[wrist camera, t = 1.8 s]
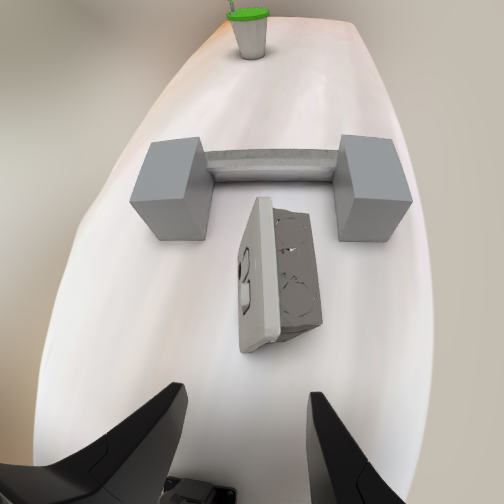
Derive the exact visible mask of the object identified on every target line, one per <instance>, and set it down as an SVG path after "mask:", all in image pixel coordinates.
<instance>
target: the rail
mask: <svg viewBox="0 0 504 504" xmlns="http://www.w3.org/2000/svg"><path fill="white" fill-rule="evenodd" d="M338 151H339V150H317V149H249V150H227V151H211V152H204V153H205V156H206V159H207V165H206V170H207V172H211V175H212V178H213V181H214V182H232V181H327V182H332V181H333V176H334V172H335V171H337V169H338V165H337V156H338Z"/></svg>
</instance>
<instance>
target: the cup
mask: <svg viewBox="0 0 504 504" xmlns="http://www.w3.org/2000/svg"><path fill="white" fill-rule="evenodd" d="M229 2H230V6H231V12H229V13H228V14H227V19H228V20H229V21H230V22H231V25H232V28H233V31H234V34H235V37H236V40H237V43H238V46H239V49H240V52H241V56H242V58H243V59H246V60H256V59H260V58H263V57H264V56H265V44H266V29H267V17H268V16H269V15H270V14H269V11H268V10H267V9H262V8H247V9H239V10H235V11H234V6H233V1H232V0H229Z"/></svg>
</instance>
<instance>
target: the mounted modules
mask: <svg viewBox="0 0 504 504" xmlns="http://www.w3.org/2000/svg"><path fill="white" fill-rule="evenodd" d="M206 165H207V159H206V156H205V153H204V150H203V147H202V144H201V141H200V138H199V137H192V138H183V139H175V140H167V141H160V142H153V143H151V145H150V147H149V150H148V152H147V155H146V157H145V160H144V162H143V165H142V167H141V170H140V173H139V175H138V178H137V181H136V184H135V187H134V189H133V192H132V195H131V198H130V201H129V202H130V204H131V205H132V206H133V208H134V209H135V210H136V211H137V213H138V214H139V215H140V217H141V218H142V219H143V220H144V222H145V223H146V224H147V225H148V227H149V228H150V229H151V231H152V232H153V233H154V234H155V236H156V237H157V238H158V239H159V240H205V236H206V230H207V223H208V217H209V211H210V205H211V198H212V193H213V187H214V181H213V178H212V175H211V172H207V170H206ZM337 165H338V169H337V171H335V172H334V176H333V181H332V184H333V191H334V199H335V207H336V215H337V224H338V234H339V241H362V242H387V241H388V239H389V238H390V236H391V235H392V233H393V232H394V230H395V229H396V227H397V226H398V224H399V223H400V221H401V220H402V218H403V217H404V215H405V213H406V212H407V210H408V209H409V207H410V205H411V204H412V202H413V200H412V197H411V193H410V190H409V187H408V184H407V180H406V177H405V174H404V171H403V168H402V166H401V163H400V160H399V157H398V155H397V152H396V149H395V147H394V144H393V141H392V139H384V138H375V137H365V136H354V135H341V140H340V146H339V151H338V156H337Z"/></svg>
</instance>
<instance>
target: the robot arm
mask: <svg viewBox="0 0 504 504" xmlns="http://www.w3.org/2000/svg"><path fill="white" fill-rule="evenodd" d="M187 405H188V396H187V392H186V389H185V386H184V384H183V383H177V382H172V383H171V384H169V385H168V386H167V387H166V388H164V389H163V390H162V391H161V392H159V393H158V394H157V395H156V396H154V397H153V398H152V399H151V400H149V401H148V402H147V403H146V404H144V405H143V406H142V407H140V408H139V409H138V410H136V411H135V412H134V413H133V414H131V415H130V416H129V417H127V418H126V419H125V420H123V421H122V422H121V423H119V424H118V425H117V426H115V427H114V428H113V429H111V430H110V431H109V432H107V434H104V435H103V436H102V437H100V438H99V439H97V440H96V441H94V442H93V443H91V444H90V445H88V446H87V447H85V448H83V449H81V450H80V451H78V452H76V453H74V454H72V455H70V456H68V457H66V458H64V459H63V460H61V461H59V462H56V463H54V464H51V465H48V466H22V465H11V464H2V463H0V504H236V502H237V491H236V489H234V488H230V487H222V486H215V485H213V484H212V483H207V482H201V481H196V480H191V479H186V478H185V479H179V478H174V477H170V476H168V477H167V475H168V472H169V469H170V466H171V463H172V460H173V458H174V455H175V452H176V449H177V446H178V443H179V441H180V437H181V433H182V429H183V424H184V419H185V415H186V410H187ZM306 452H307V461H308V471H309V481H310V491H311V502H312V504H406V503H405V502H404V501H403V500H402V499H401V498H400V497H399V496H398V495H397V494H396V493H395V492H394V491H393V490H392V489H391V488H390V487H389V486H388V485H387V484H386V483H385V481H384V480H383V479H382V478H381V477H380V475H379V474H378V473H377V471H376V470H375V469H374V467H373V466H372V464H371V463H370V462H369V461H368V459H367V457H366V456H365V455H364V453H363V452H362V450H361V449H360V447H359V446H358V444H357V443H356V442H355V440H354V439H353V437H352V436H351V434H350V433H349V431H348V430H347V428H346V427H345V425H344V424H343V422H342V421H341V419H340V418H339V417H338V415H337V414H336V412H335V411H334V409H333V408H332V406H331V405H330V403H329V402H328V400H327V399H326V397H325V396H324V394H323V393H322V392H310V394H309V399H308V405H307V428H306ZM168 480H170V481H171V483H169V482H168ZM163 486H164V494H162V495H161V492H162V489H163ZM230 491H231V492H233V494H229V493H228V492H230Z"/></svg>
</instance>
